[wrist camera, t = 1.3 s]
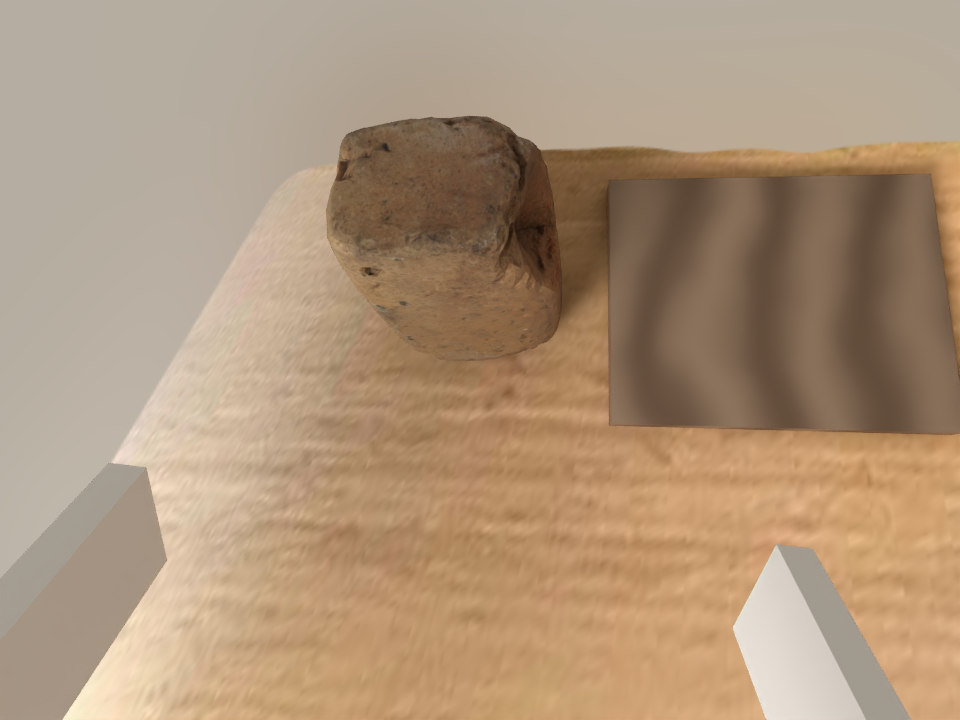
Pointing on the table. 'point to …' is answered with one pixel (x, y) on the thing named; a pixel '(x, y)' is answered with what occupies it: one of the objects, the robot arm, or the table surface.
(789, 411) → the walnut board
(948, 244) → the table surface
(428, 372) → the table surface
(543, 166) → the block
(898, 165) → the table surface
